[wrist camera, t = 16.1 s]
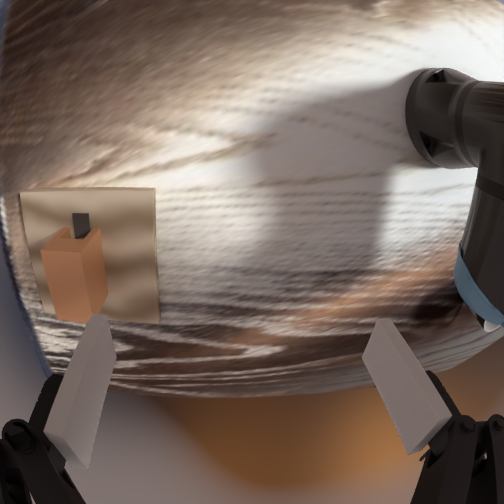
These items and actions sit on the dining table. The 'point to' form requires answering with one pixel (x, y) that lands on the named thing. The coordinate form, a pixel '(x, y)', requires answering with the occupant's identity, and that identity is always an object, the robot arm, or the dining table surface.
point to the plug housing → (75, 275)
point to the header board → (113, 242)
